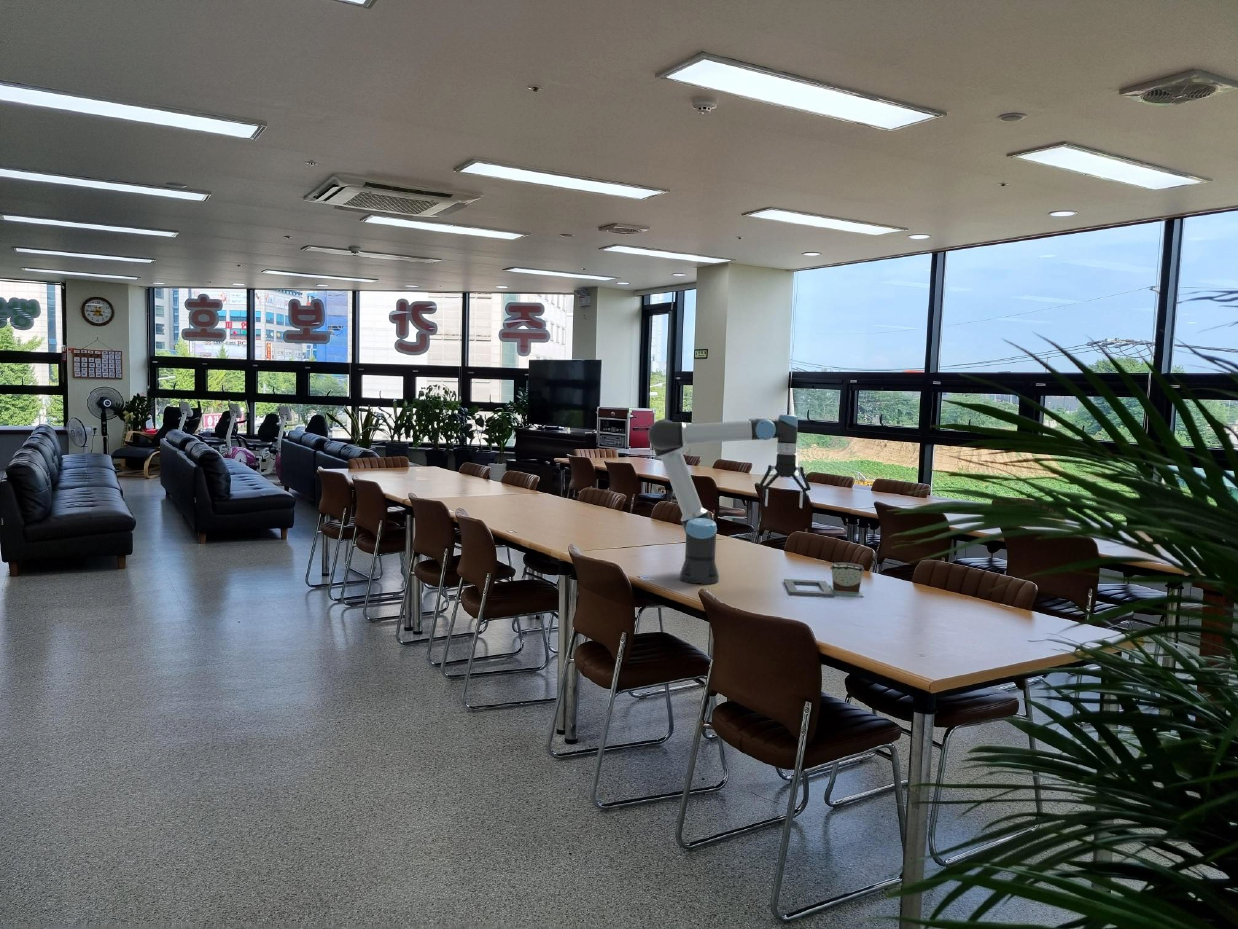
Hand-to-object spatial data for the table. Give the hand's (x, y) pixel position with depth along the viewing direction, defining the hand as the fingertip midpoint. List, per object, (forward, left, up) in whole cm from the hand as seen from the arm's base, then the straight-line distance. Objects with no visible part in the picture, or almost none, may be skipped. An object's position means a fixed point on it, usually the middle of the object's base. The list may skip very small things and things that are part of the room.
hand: (783, 506), depth 338 cm
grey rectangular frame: (+9, -20, -29) cm, 36 cm away
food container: (+23, -20, -28) cm, 41 cm away
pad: (+23, -20, -29) cm, 41 cm away
